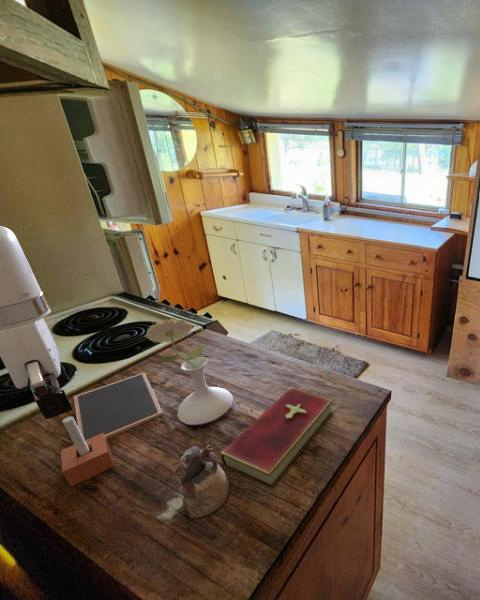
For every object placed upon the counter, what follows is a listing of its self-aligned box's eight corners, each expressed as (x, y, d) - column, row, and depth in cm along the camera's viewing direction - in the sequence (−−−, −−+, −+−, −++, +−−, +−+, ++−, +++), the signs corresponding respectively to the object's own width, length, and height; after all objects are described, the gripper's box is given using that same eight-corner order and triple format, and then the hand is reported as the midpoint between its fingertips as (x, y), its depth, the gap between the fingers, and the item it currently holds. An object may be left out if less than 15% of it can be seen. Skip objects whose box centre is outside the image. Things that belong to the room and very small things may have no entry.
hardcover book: (222, 466, 64) (218, 451, 62) (291, 398, 82) (290, 385, 80) (271, 488, 60) (269, 473, 58) (333, 412, 78) (332, 399, 76)
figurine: (193, 482, 60) (177, 436, 55) (234, 476, 62) (222, 430, 57) (178, 521, 54) (159, 473, 49) (224, 513, 56) (210, 465, 51)
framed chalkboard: (82, 449, 66) (80, 446, 65) (74, 398, 78) (73, 395, 78) (163, 415, 75) (162, 412, 75) (145, 374, 88) (144, 371, 87)
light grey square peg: (87, 470, 62) (62, 423, 57) (86, 465, 63) (62, 419, 58) (96, 465, 63) (73, 419, 58) (96, 461, 64) (72, 415, 59)
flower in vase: (237, 391, 83) (218, 304, 73) (229, 424, 73) (206, 328, 63) (180, 399, 80) (151, 308, 69) (163, 435, 70) (126, 336, 59)
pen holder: (70, 486, 59) (62, 471, 57) (68, 464, 63) (60, 450, 61) (114, 466, 63) (107, 451, 61) (110, 446, 67) (103, 432, 65)
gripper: (-21, 298, 52) (28, 384, 59) (-37, 341, 41) (25, 440, 48) (46, 287, 56) (83, 367, 64) (48, 322, 46) (92, 414, 53)
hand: (58, 398), depth 56 cm, fingers open, 9 cm apart
